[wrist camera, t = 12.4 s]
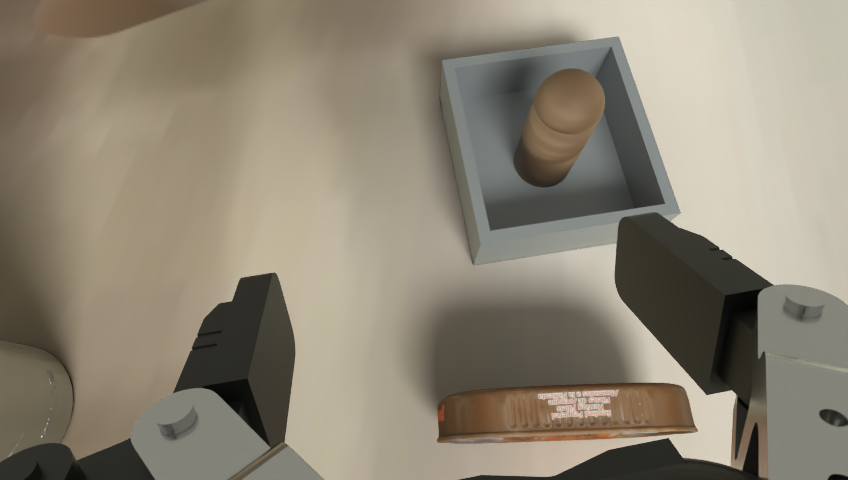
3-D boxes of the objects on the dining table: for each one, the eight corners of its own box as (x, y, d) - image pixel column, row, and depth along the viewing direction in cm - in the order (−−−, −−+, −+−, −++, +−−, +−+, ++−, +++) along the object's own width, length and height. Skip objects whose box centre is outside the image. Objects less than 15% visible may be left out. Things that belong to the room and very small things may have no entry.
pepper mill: (520, 191, 40) (551, 119, 30) (508, 141, 41) (534, 57, 32) (576, 183, 40) (624, 110, 30) (562, 133, 41) (604, 48, 32)
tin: (435, 444, 35) (439, 452, 27) (433, 395, 36) (437, 388, 28) (659, 437, 35) (730, 442, 27) (651, 388, 36) (717, 379, 28)
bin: (473, 265, 39) (480, 243, 34) (439, 99, 43) (442, 60, 39) (649, 237, 39) (680, 213, 35) (597, 77, 44) (618, 36, 39)
